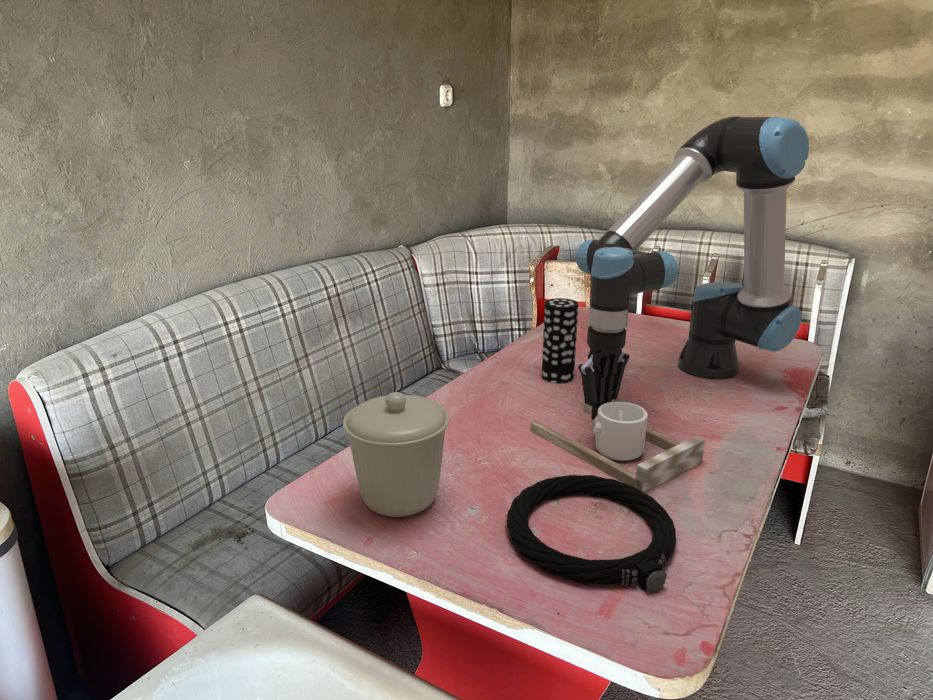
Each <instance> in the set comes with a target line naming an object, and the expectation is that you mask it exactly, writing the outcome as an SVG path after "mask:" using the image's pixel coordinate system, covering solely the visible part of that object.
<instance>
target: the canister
mask: <svg viewBox="0 0 933 700" xmlns="http://www.w3.org/2000/svg"><path fill="white" fill-rule="evenodd" d="M450 419H451V418H450V414H449V412H448V410H447V409H446V408H445V407H444V406H443V405H441V404H440V403H438V402H435V401H433V400H431V399H428V398H426V397H423V396H420V395H414V394H403V393H402V392H399V391H394V392H390V393H389V394H387V395H381V396H377V397H374V398H370V399H368V400H366V401H363V402H362V403H360V404H358V405H356V406H354V407H353V408H351V409H350V410H349V411H348V412H347V413H346V414H345V415H344V416H343V420H342V428H343V429H344V432H345V433H346V434H347V435H348V441H349V445H350V451H351V457H352V461H353V465H354V469H355V470H354V472H355V475H356V480H357V483H358V488H359V492H360V495H361V499H362V501H363V502H364V505H366V506H367V507H368V508H369V510H371V511H373V512H374V513H377V514H378V515H382V516H383V517H384V516H385V517H386V516H387V517H388V518H389V517H390V518H391V517H392V518H400V517H403V518H404V517H410V516H415V515H416V514H419V513H421V512H422V511H425V509H427V508H429V507H430V506H431V504H432V503H433V502H434V500H436V496H437V494H438V492H439V487H440V482H441V481H440V480H441V471H442V465H443V464H442V463H443V455H444V445H445V444H444V443H445V435H446V434H445V433H446V429H447V427H448V425H449V423H450Z"/></svg>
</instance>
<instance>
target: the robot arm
mask: <svg viewBox="0 0 933 700" xmlns="http://www.w3.org/2000/svg"><path fill="white" fill-rule="evenodd" d="M809 152H810V142H809V136H808V133H807V131H806V129H805V127H804V126H803V125H802V124H801V123H800V122H799V121H798V120H796V119H793V118H788V117H787V118H786V117H781V116H737V115H736V116H728V117H724V118H720V119H718V120H716V121H714V122H712V123H710V124H708V125H706V126H705V127H703V128H702V129H701V130H699V131H698V132H696V133H695V134H694V135H693V136H691V137H690V138H689V139H688V140H687V141H686V142H684V143H683V144H682V146H680V147H679V149H677V151H676V152H675V153H674V160H673V161H672V162H671V164H669V165H668V167H667V168H666V169H665V170H664V171H662V173H661V174H660V175H659V176H658V177H657V178H656V179H654V181H653V182H652V183H651V184H650V186H649V187H648V188H647V189H646V190H645V191H644V192H643V193H641V195H640V196H639V197H638V198H637V199H636V200H635V201H634V202H633V203H632V204H631V205H630V206H629V207H628V209H627V210H626V211H625V212H624V213H622V215H621V216H620V217H619V218H618V219H617V220H616V221H615V223H613V225H611V227H609V228H608V229H607V231H605V233H604V234H603V235H602V236H601V237H600V238H599V239H591V238H590V239H586V240H585V241H583V242H581V244H580V245H579V246H578V248H577V249H576V250H577V251H576V254H575V261H576V265H577V268H578V269H579V270H580V271H582V272H583V273H586V274H588V275H589V276H591V277H590V278H591V279H590V292H589V293H590V296H589V310H588V311H589V313H588V314H589V315H588V324H589V325H588V327H587V333H586V334H587V335H586V336H587V337H586V343H587V345H588V347H589V352H588V354H587V361H586V362H585V363H584V364H582V363H580V364H578V367H577V368H578V371H579V372H580V374H581V382H582V389H583V390H582V391H583V400H584V402H585V404H588V405H590V406H592V414H590V415H591V416H590V419H591V420H592V421H591V433H594V432H593V429H594V427H595V422H594V419H595V418H596V416H597V415H598V409H599V407H600V406H601V405H603V404H605V403H608V402H613V400H615V401H616V400H617V399H618V397H619V392H620V389H621V387H622V386H621V385H622V380H623V377H624V374H625V370H626V366H627V364H628V362H629V359H630V354H628V353H625V352H623V348H625V346H626V338H627V329H626V328H627V327H628V320H629V309H630V307H629V306H630V299H631V298H630V296H631V295H636V294H641V293H642V294H643V293H647V292H652V291H653V292H654V291H660V290H661V289H664V288H668V287H670V286H672V285H673V283H675V281H676V279H677V277H678V273H679V272H678V270H679V267H678V262H677V260H676V258H675V257H674V256H673V254H671V253H670V252H668V251H663V250H662V251H657V250H655V251H652V252H645V251H641V250H638V249H639V248H640V247H642V245H643V244H644V242H646V241H647V240H648V238H650V236H652V234H653V233H654V232H655V231H656V230H657V229H658V228H659V227H660V225H662V224H663V222H665V220H666V219H667V218H668V217H669V216H670V215H672V213H673V212H674V211H675V210H676V209H677V208H678V206H680V204H682V202H683V201H684V200H685V199H686V198H687V197H688V196H689V195H690V194H691V193H692V191H693V190H694V189H695V188H696V187H697V186H698V185H699V184H703V183H706V182H708V181H709V180H710V179H711V178H712V177H713V176H714V175H716V174H718V173H721V172H729V173H735V182H736V183H735V185H736V187H737V188H738V189H740V190H741V191H742V192H743V284H741V283H738V282H729V281H717V282H715V281H714V282H706V283H702V284H699V285H698V286H696V288H694V292H693V298H692V300H691V301H692V302H691V313H690V320H689V321H690V322H689V328H688V337H687V340H686V342H685V344H684V345H683V348H682V350H681V351H680V354H679V355H678V363H677V366H678V367H679V369H680V370H682V371H683V372H685V373H687V374H689V375H692V376H695V377H700V378H705V379H706V378H707V379H713V380H714V379H717V380H718V379H719V380H720V379H729V378H732V377H735V376H736V375H737V374H738V372H739V368H740V362H739V358H738V352H737V348H736V346H737V345H736V341H738V342H740V343H744V344H748V345H750V346H753V347H757V348H758V349H759V350H765V351H769V352H773V353H775V352H779V351H782V350H784V349H785V348H787V347H788V346H789V344H791V343H792V341H793V340H794V339H795V337H796V335H797V333H798V332H799V330H800V327H801V324H802V321H803V320H802V319H803V314H802V311H801V309H800V308H799V307H797V306H796V305H792V294H791V292H790V290H789V289H788V288H786V287H785V266H786V265H785V261H786V233H787V232H786V231H787V230H786V226H787V199H788V197H787V196H788V195H787V193H788V192H787V191H788V190H787V189H788V188H789V187H790V186H792V184H793V183H794V182H795V181H796V177H797V176H798V175H799V174H801V172H802V171H803V170H804V168H805V166H806V161H807V160H808V157H809V154H810V153H809Z"/></svg>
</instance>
